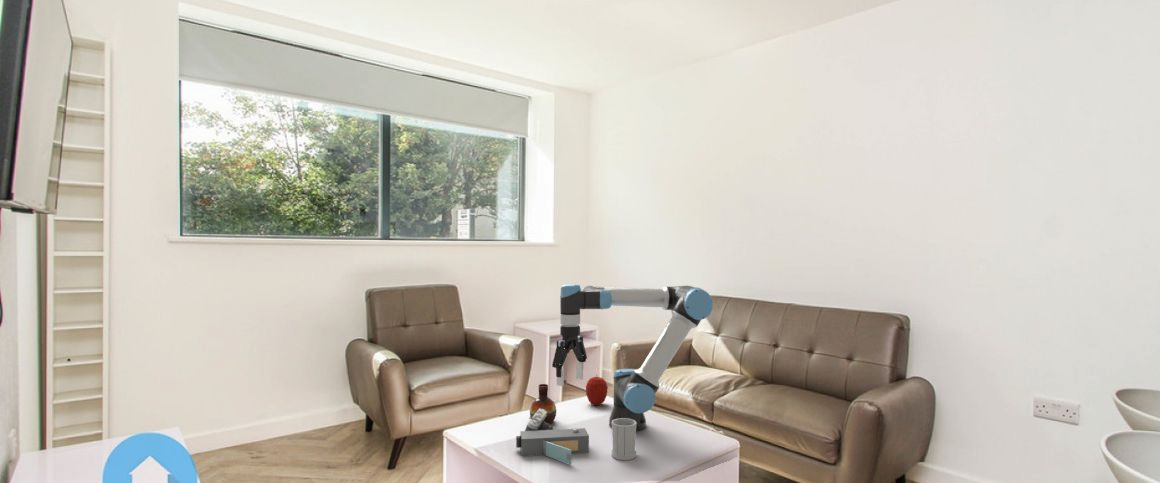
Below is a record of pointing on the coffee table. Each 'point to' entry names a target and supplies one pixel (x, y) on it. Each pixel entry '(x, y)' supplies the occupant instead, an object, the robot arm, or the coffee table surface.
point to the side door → (557, 452)
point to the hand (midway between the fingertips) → (570, 382)
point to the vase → (544, 404)
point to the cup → (623, 438)
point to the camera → (538, 422)
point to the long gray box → (553, 440)
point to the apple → (596, 390)
